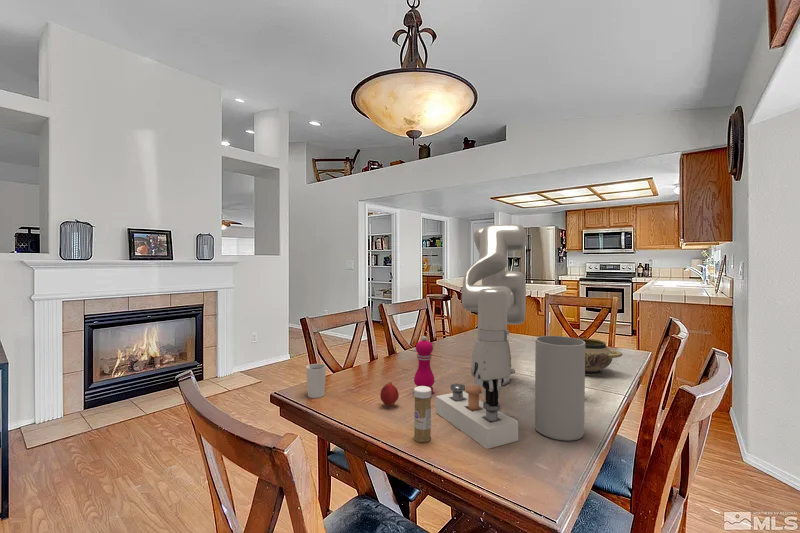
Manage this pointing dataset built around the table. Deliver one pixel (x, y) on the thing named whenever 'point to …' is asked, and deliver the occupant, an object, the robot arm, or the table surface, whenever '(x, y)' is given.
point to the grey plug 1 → (457, 391)
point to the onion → (389, 394)
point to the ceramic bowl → (597, 356)
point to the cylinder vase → (560, 387)
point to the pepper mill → (424, 364)
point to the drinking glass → (316, 380)
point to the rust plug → (473, 397)
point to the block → (477, 421)
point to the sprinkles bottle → (422, 414)
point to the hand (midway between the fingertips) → (491, 404)
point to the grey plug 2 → (491, 412)
